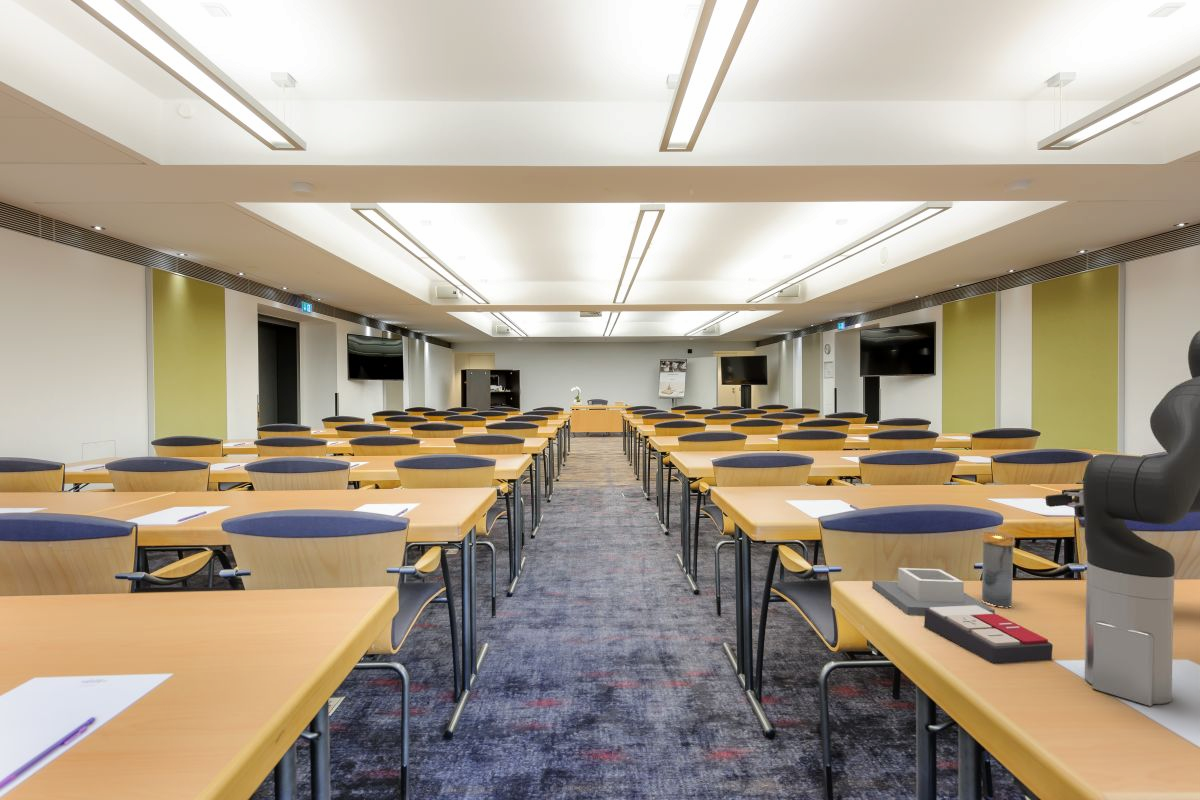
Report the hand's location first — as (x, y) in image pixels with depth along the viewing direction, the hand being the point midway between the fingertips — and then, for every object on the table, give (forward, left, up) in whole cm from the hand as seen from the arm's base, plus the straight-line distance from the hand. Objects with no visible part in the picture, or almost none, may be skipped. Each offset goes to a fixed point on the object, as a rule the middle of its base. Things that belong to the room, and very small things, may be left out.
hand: (1060, 506), depth 115 cm
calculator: (-31, +4, -21) cm, 38 cm away
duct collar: (-17, +18, -20) cm, 32 cm away
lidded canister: (-7, +9, -20) cm, 23 cm away
